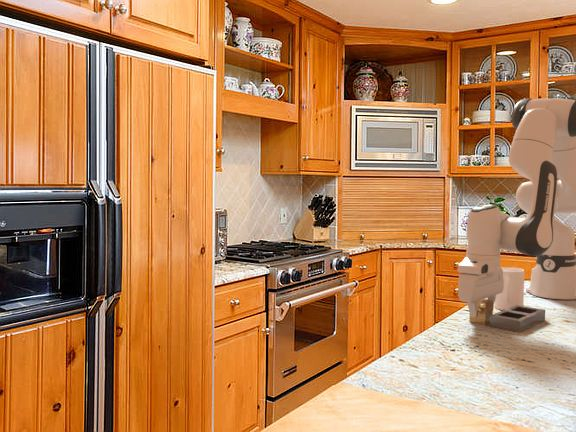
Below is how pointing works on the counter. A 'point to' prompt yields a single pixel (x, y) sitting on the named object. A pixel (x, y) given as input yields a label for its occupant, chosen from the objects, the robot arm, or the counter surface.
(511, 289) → the mug
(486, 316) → the wooden toy block
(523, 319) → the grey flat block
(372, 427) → the counter surface
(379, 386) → the counter surface
